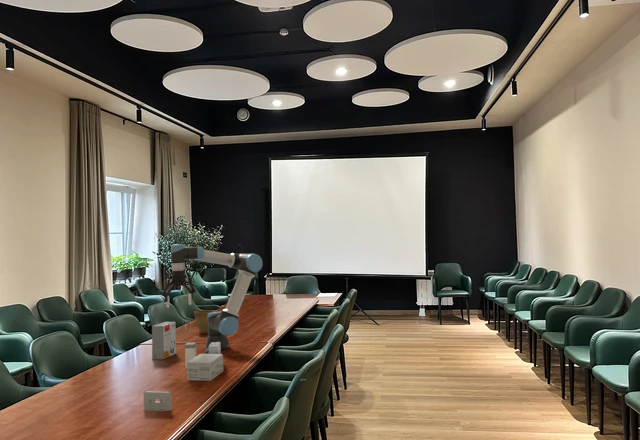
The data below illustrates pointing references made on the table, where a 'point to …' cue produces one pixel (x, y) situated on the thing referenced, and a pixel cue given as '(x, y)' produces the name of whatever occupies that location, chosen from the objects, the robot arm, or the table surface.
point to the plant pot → (202, 320)
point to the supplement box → (205, 367)
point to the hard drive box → (163, 340)
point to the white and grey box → (190, 352)
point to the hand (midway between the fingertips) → (179, 306)
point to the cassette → (157, 405)
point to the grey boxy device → (215, 348)
